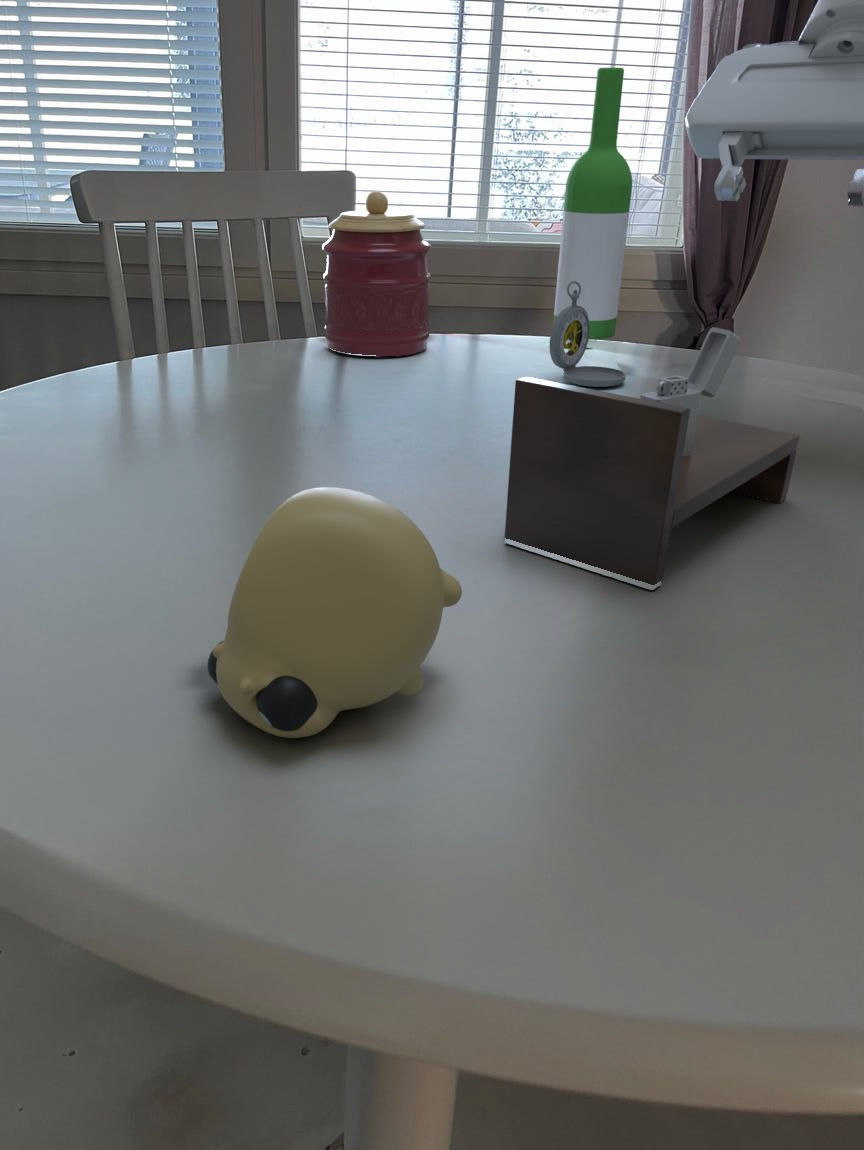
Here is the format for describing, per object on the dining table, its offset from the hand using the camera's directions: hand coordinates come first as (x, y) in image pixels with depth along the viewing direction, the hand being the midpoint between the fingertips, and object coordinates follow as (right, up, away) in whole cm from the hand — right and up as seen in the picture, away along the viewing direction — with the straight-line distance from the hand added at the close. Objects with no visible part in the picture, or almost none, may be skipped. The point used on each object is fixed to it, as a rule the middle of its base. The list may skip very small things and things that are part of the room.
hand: (788, 197), depth 66 cm
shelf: (-9, -23, +1) cm, 24 cm away
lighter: (-8, -19, -2) cm, 20 cm away
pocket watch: (-7, -3, +37) cm, 37 cm away
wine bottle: (-3, +6, +53) cm, 53 cm away
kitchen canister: (-29, +5, +51) cm, 59 cm away
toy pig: (-31, -34, -20) cm, 50 cm away
